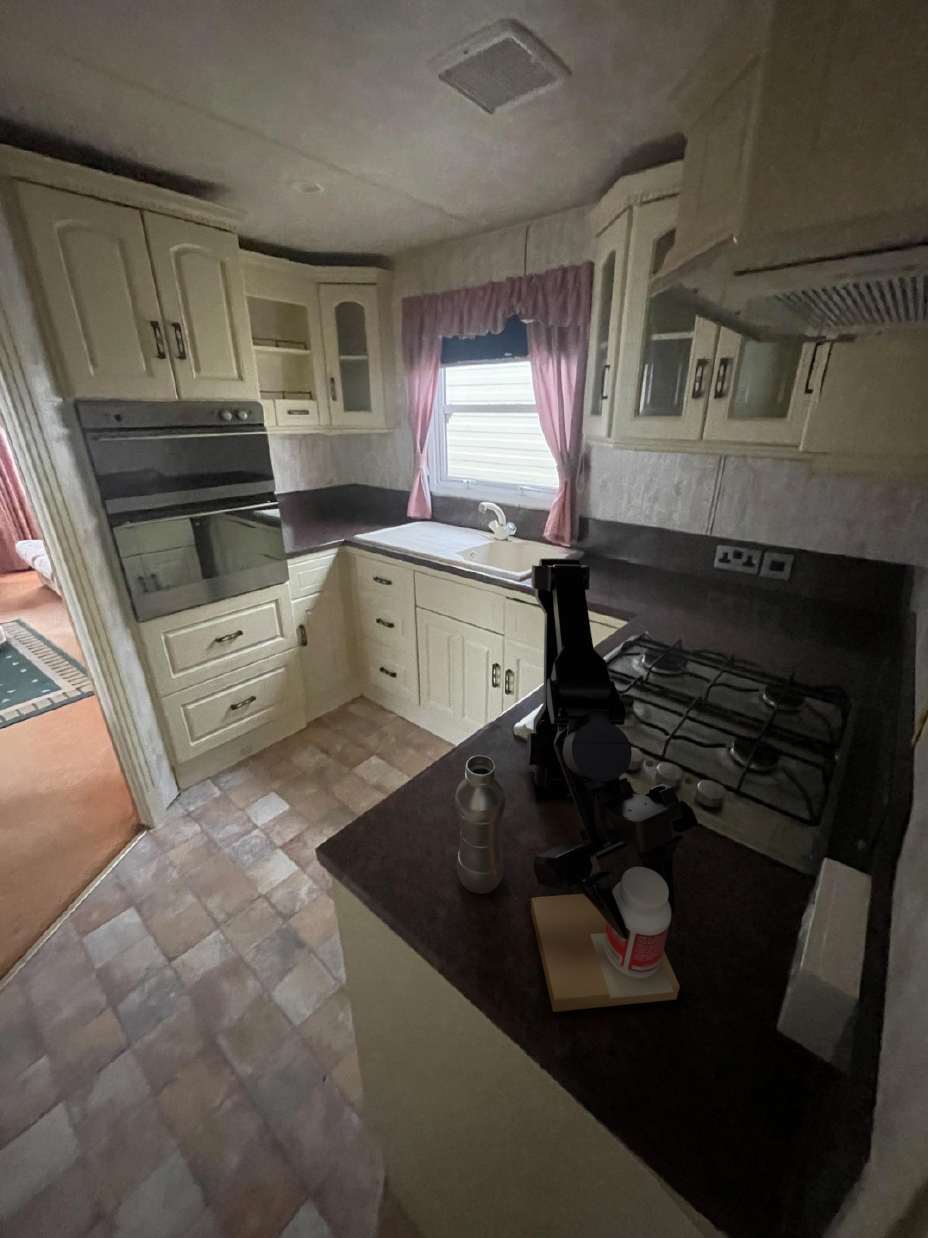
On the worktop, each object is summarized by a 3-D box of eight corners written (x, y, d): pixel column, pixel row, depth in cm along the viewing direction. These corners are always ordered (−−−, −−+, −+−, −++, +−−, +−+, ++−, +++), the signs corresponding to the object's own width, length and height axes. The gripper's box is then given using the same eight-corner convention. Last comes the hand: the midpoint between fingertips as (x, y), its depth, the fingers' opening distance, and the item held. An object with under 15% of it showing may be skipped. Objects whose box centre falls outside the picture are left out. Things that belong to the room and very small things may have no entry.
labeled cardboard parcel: (530, 910, 67) (531, 896, 66) (634, 901, 68) (637, 887, 67) (554, 1017, 56) (555, 1003, 54) (678, 1004, 57) (682, 990, 56)
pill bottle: (665, 943, 59) (683, 877, 54) (651, 992, 54) (669, 925, 49) (612, 916, 62) (624, 851, 57) (595, 960, 57) (606, 893, 53)
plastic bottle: (468, 908, 67) (467, 791, 59) (449, 868, 73) (445, 755, 64) (512, 890, 69) (517, 775, 61) (490, 852, 75) (491, 742, 67)
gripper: (556, 801, 48) (623, 987, 43) (701, 743, 55) (770, 897, 51) (510, 806, 57) (561, 958, 53) (638, 756, 65) (692, 887, 60)
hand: (648, 924), depth 54 cm, fingers closed on pill bottle, 6 cm apart
